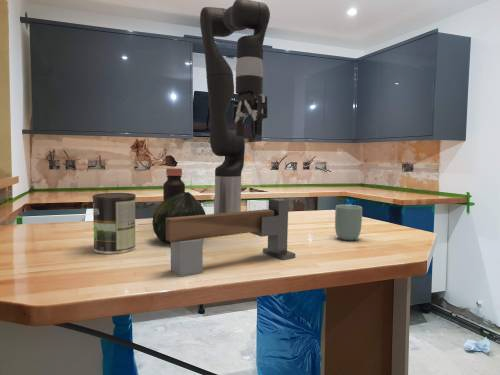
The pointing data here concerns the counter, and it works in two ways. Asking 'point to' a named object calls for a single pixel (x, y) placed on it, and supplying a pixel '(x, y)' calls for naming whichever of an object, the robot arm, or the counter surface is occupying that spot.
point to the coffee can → (114, 223)
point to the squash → (175, 211)
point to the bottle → (173, 183)
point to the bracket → (276, 229)
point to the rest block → (187, 257)
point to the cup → (348, 221)
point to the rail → (214, 225)
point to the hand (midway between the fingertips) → (248, 135)
